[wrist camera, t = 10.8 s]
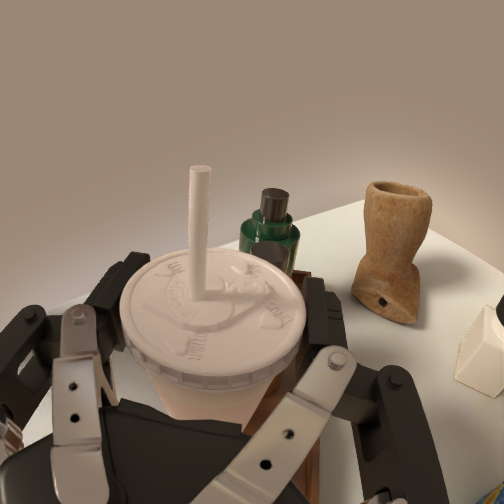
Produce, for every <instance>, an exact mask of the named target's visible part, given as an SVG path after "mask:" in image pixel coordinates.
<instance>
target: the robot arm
mask: <svg viewBox="0 0 504 504" xmlns="http://www.w3.org/2000/svg"><path fill="white" fill-rule="evenodd" d="M149 262H151V261H150V256H149V254H146V253H140V252H130V254H129V255H128V257H127V258H126V259H125V260H124V262H121V261H119V262H117V263H116V264H114V265H113V266H111V267H110V268H109V269H108V271H107V272H106V274H105V275H104V277H103V278H102V279H101V280H100V283H98V284H97V286H96V287H95V289H94V290H93V291H92V293H91V294H90V295H89V297H88V298H87V300H86V301H85V302H84V304H78V305H74V306H72V307H70V308H69V309H67V310H66V311H65V312H64V314H63V315H51V316H47V315H46V312H45V310H44V308H43V307H41V306H39V305H30V306H27V307H25V308H23V309H22V310H21V311H20V312H19V313H18V314H17V315H16V316H15V317H14V319H12V321H11V322H10V323H9V324H8V325H7V326H6V327H5V328H4V330H3V331H2V332H1V333H0V504H311V503H310V501H309V500H308V499H307V498H306V496H305V495H304V494H303V493H302V491H301V490H300V489H299V487H298V486H297V485H296V483H295V482H294V481H293V480H292V477H293V475H294V474H295V472H296V471H297V469H298V468H299V466H300V465H301V463H302V462H303V460H304V459H305V457H306V456H307V454H308V453H309V451H310V450H311V448H312V447H313V445H314V443H315V442H316V440H317V439H318V437H319V435H320V434H321V432H322V430H323V429H324V427H325V425H326V424H327V422H328V420H329V419H330V417H331V415H333V416H336V417H339V418H342V419H345V420H348V421H351V425H352V431H353V436H354V442H355V447H356V453H357V459H358V465H359V471H360V477H361V484H362V490H363V497H364V502H362V503H360V504H449V499H448V495H447V490H446V486H445V482H444V478H443V474H442V470H441V466H440V463H439V459H438V455H437V452H436V448H435V445H434V441H433V438H432V435H431V431H430V428H429V425H428V422H427V419H426V416H425V413H424V410H423V407H422V404H421V401H420V398H419V395H418V392H417V389H416V387H415V384H414V381H413V378H412V376H411V375H410V373H409V372H408V371H407V370H405V369H404V368H402V367H400V366H397V365H388V366H385V367H383V368H382V369H381V370H380V371H376V370H373V369H370V368H367V367H364V366H362V365H360V364H359V363H357V362H356V359H355V357H354V355H353V354H352V353H351V352H350V351H349V350H348V346H347V340H346V333H345V327H344V321H343V314H342V308H341V302H340V300H339V299H338V297H337V296H336V294H335V293H334V292H328V291H325V288H324V280H323V278H316V277H308V276H305V277H304V280H303V284H302V288H301V294H302V296H303V299H304V302H305V306H306V323H305V327H304V330H303V337H302V341H301V344H300V348H299V351H298V353H297V354H296V358H295V383H297V385H296V386H295V387H294V389H293V390H292V391H289V392H287V394H286V395H285V396H284V397H283V399H282V400H281V401H280V403H279V404H278V405H277V406H276V408H275V409H274V410H273V412H272V413H271V414H270V416H269V417H268V418H267V419H266V421H265V422H264V423H263V424H262V426H261V427H260V428H259V429H258V431H257V432H256V433H255V434H254V436H251V435H249V434H246V433H244V432H241V431H242V424H238V423H231V422H225V421H219V420H213V419H202V420H177V419H174V418H172V417H170V416H168V415H166V414H164V413H162V412H160V411H158V410H156V409H154V408H152V407H150V406H148V405H144V404H141V403H137V402H134V401H130V400H127V399H123V398H121V400H120V402H119V403H118V400H117V396H116V390H115V383H114V375H113V367H112V359H111V356H110V355H111V353H112V351H113V350H117V351H121V352H123V350H124V348H125V346H126V343H125V339H124V335H123V330H122V321H121V317H120V299H121V295H122V292H123V290H124V288H125V286H126V284H127V282H128V281H129V279H130V278H131V277H132V276H133V275H134V274H135V273H136V272H137V271H138V270H139V269H140V268H142V267H143V266H144V265H146V264H147V263H149ZM30 351H31V352H32V353H33V357H32V358H31V359H30V360H29V362H28V363H27V364H26V366H25V367H24V368H23V370H22V371H21V372H20V374H19V375H18V373H17V372H18V367H19V365H20V364H21V363H22V361H23V360H24V359H25V358H26V356H27V355H28V354H29V352H30ZM51 386H52V424H53V433H51V434H49V435H47V436H46V437H44V438H42V439H40V440H38V441H36V442H35V443H33V444H31V445H29V446H27V447H25V448H24V443H23V442H22V438H23V436H22V431H23V429H24V428H25V426H26V424H27V423H28V421H29V420H30V418H31V416H32V415H33V413H34V412H35V410H36V408H37V407H38V405H39V404H40V402H41V401H42V399H43V398H44V396H45V395H46V393H47V392H48V390H49V389H50V387H51Z"/></svg>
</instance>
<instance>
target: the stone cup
mask: <svg viewBox="0 0 504 504" xmlns="http://www.w3.org/2000/svg"><path fill="white" fill-rule="evenodd" d="M431 213H432V200H431V198H430V196H428V194H427V193H426V192H424V191H423V190H422V189H419V188H416V187H413V186H409V185H402V184H399V183H395V182H387V181H376V182H372V183H370V185H369V186H368V187H367V190H366V198H365V204H364V222H365V235H366V255H365V256H364V257H363V258H362V260H361V261H360V263H359V266H358V269H357V273H356V276H355V280H354V283H353V285H352V290H351V291H352V293H353V294H354V295H355V296H356V297H357V298H358V299H359V300H360V301H361V302H362V303H363V304H364V305H365V306H367V307H368V308H369V309H370V310H372V311H373V312H375V313H376V314H378V315H381V316H382V317H385V318H387V319H390V320H393V321H397V322H400V323H406V324H412V323H414V322H415V321H416V319H417V313H418V307H419V294H420V276H419V271H418V268H417V267H416V266H415V265H413V264H412V261H413V259H414V257H415V255H416V252H417V251H418V249H419V247H420V246H421V244H422V242H423V241H424V239H425V236H426V233H427V230H428V226H429V222H430V217H431Z"/></svg>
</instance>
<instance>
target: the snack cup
mask: <svg viewBox="0 0 504 504" xmlns="http://www.w3.org/2000/svg"><path fill="white" fill-rule="evenodd" d="M476 504H504V482H503V483H502V484H501V485H499V486H498V487H496V488H495V489H494V490H492V491H491V492H490V493H489V494H487V495H486V496H484V497H483V498H482V499H481V500H480V501H479V502H477V503H476Z"/></svg>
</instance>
